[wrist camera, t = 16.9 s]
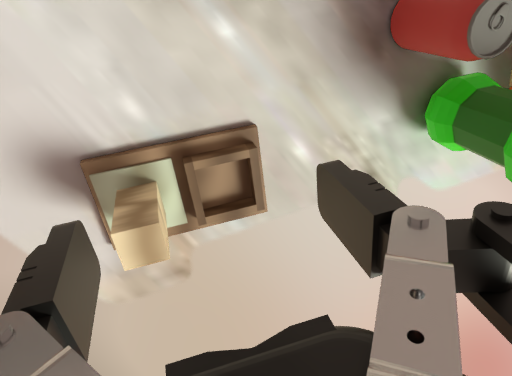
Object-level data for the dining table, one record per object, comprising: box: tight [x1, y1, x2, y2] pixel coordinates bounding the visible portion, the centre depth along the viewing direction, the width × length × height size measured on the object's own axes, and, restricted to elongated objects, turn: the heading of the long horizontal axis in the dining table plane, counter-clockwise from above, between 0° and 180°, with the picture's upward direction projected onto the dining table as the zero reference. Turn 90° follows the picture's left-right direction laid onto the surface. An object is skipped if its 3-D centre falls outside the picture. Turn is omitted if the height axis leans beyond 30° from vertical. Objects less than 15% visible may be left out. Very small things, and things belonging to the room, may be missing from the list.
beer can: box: [391, 0, 512, 61], centre depth 38 cm, size 7×7×12 cm
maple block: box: [110, 182, 170, 271], centre depth 39 cm, size 4×4×9 cm
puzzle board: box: [80, 124, 267, 250], centre depth 44 cm, size 20×12×3 cm, turn 97°
